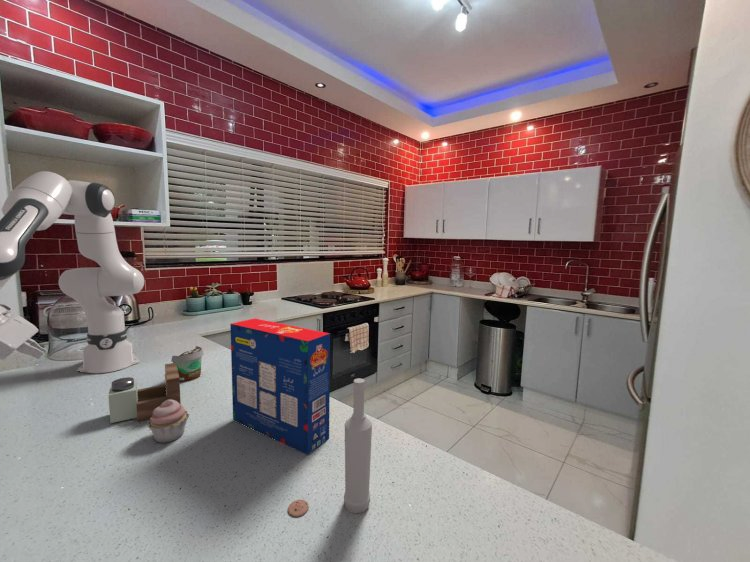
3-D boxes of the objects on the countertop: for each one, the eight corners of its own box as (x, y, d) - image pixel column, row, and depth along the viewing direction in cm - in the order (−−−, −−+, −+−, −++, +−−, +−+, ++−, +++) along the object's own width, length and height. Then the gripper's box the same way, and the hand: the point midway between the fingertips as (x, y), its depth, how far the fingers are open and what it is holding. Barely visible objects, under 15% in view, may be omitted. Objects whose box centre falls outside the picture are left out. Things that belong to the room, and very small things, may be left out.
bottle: (343, 494, 67) (345, 375, 64) (369, 492, 67) (372, 374, 64) (343, 514, 62) (345, 386, 59) (371, 513, 62) (374, 386, 59)
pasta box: (329, 438, 86) (330, 333, 82) (307, 455, 79) (307, 341, 76) (256, 408, 100) (254, 318, 97) (233, 420, 93) (230, 323, 90)
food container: (187, 385, 115) (186, 357, 114) (172, 383, 116) (171, 356, 115) (211, 372, 127) (210, 346, 126) (197, 370, 128) (196, 345, 127)
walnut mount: (134, 404, 101) (132, 369, 100) (177, 395, 107) (175, 362, 106) (133, 425, 90) (130, 386, 88) (181, 414, 96) (179, 377, 95)
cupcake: (145, 451, 79) (142, 411, 78) (150, 431, 87) (148, 395, 86) (190, 441, 83) (188, 403, 82) (191, 423, 91) (189, 388, 90)
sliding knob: (112, 412, 95) (110, 378, 94) (138, 406, 99) (136, 374, 98) (110, 423, 90) (107, 388, 88) (137, 417, 93) (135, 383, 92)
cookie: (309, 501, 65) (309, 496, 65) (307, 517, 61) (307, 513, 61) (289, 501, 65) (289, 497, 65) (286, 518, 61) (286, 513, 61)
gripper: (-26, 318, 69) (43, 356, 76) (8, 303, 86) (62, 335, 92) (-56, 342, 67) (17, 379, 73) (-16, 322, 84) (41, 353, 90)
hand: (42, 354), depth 83 cm, fingers closed
